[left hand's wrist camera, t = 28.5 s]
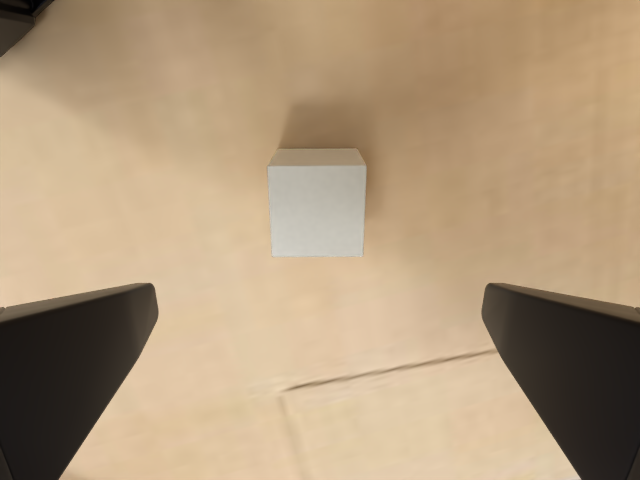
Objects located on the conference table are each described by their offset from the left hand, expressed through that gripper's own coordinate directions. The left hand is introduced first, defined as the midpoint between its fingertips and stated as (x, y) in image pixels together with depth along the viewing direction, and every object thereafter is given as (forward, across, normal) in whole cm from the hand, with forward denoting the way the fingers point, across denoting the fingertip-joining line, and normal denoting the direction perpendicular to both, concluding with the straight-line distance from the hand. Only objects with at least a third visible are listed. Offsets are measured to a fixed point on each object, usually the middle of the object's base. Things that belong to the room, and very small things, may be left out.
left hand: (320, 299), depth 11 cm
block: (+12, 0, 0) cm, 12 cm away
